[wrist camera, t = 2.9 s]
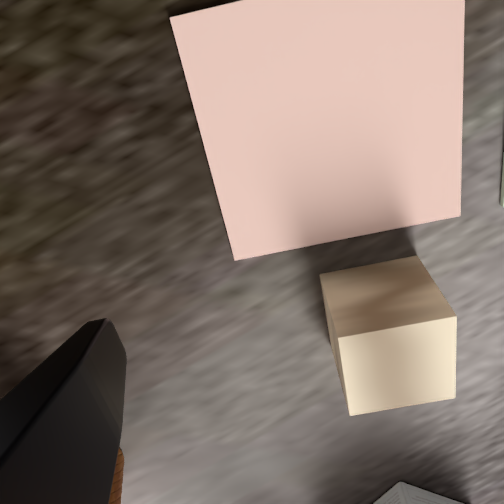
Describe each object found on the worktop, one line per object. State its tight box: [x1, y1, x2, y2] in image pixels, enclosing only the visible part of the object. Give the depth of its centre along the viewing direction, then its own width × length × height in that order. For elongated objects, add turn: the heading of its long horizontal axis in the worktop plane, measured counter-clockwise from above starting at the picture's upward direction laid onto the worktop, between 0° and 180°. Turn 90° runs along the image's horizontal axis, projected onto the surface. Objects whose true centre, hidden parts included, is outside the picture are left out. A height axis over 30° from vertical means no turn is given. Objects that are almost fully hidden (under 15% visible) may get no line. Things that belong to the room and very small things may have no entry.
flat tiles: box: [170, 0, 504, 261], centre depth 20 cm, size 24×11×1 cm, turn 102°
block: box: [319, 255, 457, 416], centre depth 23 cm, size 5×5×5 cm
